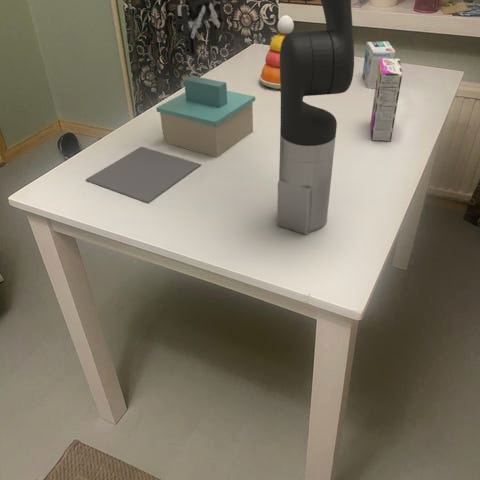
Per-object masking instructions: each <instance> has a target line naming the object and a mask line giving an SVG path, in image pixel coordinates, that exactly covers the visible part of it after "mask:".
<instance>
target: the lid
mask: <svg viewBox="0 0 480 480" xmlns="http://www.w3.org/2000/svg"><path fill="white" fill-rule="evenodd" d="M183 82H184V90H185V91H184V92H183V93H181V94H179V95H177V96H176V97H174V98H172V99H170V100H168V101H166V102H164V103H162V104H160V105H159V106H156V112H157V113H159V114H160V113H164V114H168V115H172V116H176V117H180V118H184V119H188V120H192V121H196V122H200V123H204V124H208V125H212V126H217V125H218V124H220V123H221V122H223V121H225V120H226V119H228V118H229V117H231V116H232V115H234V114H235V113H237V112H238V111H240V110H241V109H243V108H244V107H246V106H248V105H249V104H251V103H252V102H255V101H256V96H255V95H250V94H245V93H240V92H235V91H230V90H228V89H227V87H228V85H227V82H226V81H222V80H221V81H219V80H215V79H214V80H213V79H210V78H205V77H199V76H193V75H190V76H189V77H187V78H185V79H183Z"/></svg>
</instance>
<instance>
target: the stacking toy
mask: <svg viewBox="0 0 480 480" xmlns="http://www.w3.org/2000/svg"><path fill="white" fill-rule="evenodd" d="M276 27H277V31H278V32H279V33H277V34H276V35H274V36H273V38H272V39H271V41H270V44H269V50H268V51H267V54H266V56H265V60H264V62H265V63H264V65H263V67H262V70H261V73H260V75H259V76H258V77H259V78H258V79H259V82H260V83H261V84H262V85H264V86H265V87H269V88H272V89H275V90H279V89H280V90H281V86H280V49H281V44H282V41H283V39H284V37H285V36H286V35H287V34H288V33H293V30H294V29H295V28H294V27H295V25H294V21H293V19H292V18H291V16H289V15H286V14H285V15H283V16H281V17H280V18H279V20H278V22H277V26H276Z"/></svg>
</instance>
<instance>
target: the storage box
mask: <svg viewBox="0 0 480 480" xmlns="http://www.w3.org/2000/svg"><path fill="white" fill-rule="evenodd" d="M253 105H254V104H253V102H252V103H251V104H249V105H248V106H246V107H244V108H243V109H241V110H240V111H238V112H237V113H235V114H234V115H232V116H231V117H229V118H228V119H226V120H225V121H223V122H221V123H220V124H218V125H217V126H212V125H208V124H204V123H200V122H196V121H192V120H188V119H184V118H180V117H176V116H172V115H168V114H164V113H160V112H159V116H160V123H161V129H162V135H163V142H164V143H166V144H169V145H173V146H176V147H179V148H183V149H188V150H191V151H195V152H198V153H200V154H205V155H208V156H211V157H215V158H218V157H220V156H221V155H222V154H223V153H226V152H227V151H228V150H229V149H231V148H232V147H234V146H235V145H236V144H237V143H239V142H240V141H242V140H243V139H244V138H246V137H247V136H248V135H250V134H251V133H253V131H254V121H253V120H254V119H253V118H254V116H253V111H254V110H253Z"/></svg>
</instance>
